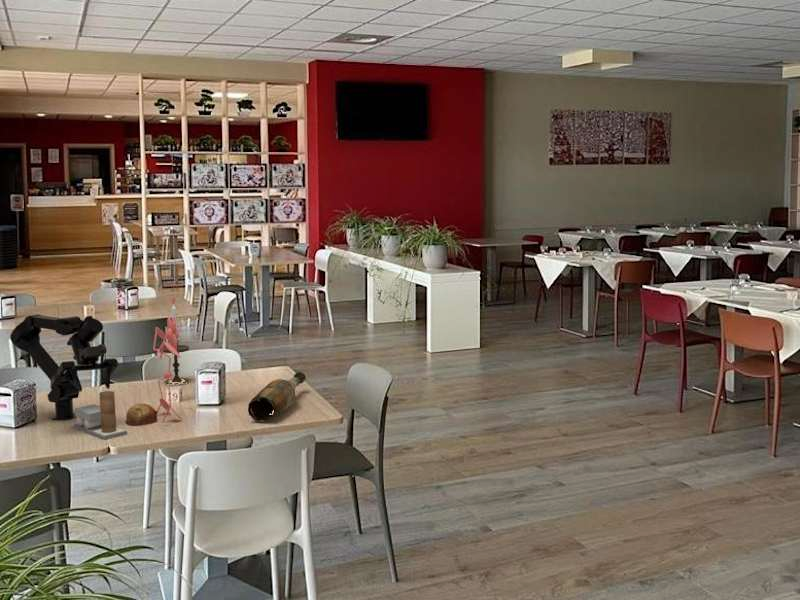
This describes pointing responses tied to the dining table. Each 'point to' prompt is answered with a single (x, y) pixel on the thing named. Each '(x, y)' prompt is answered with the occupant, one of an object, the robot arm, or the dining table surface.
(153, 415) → the bread roll
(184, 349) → the candlestick
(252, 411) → the decorative bottle
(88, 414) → the grey stand
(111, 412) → the walnut roller
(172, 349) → the figurine
